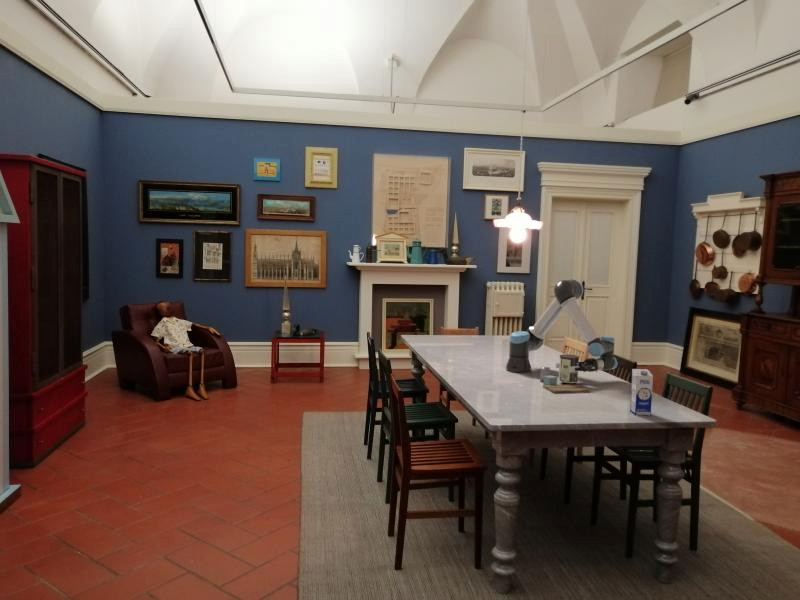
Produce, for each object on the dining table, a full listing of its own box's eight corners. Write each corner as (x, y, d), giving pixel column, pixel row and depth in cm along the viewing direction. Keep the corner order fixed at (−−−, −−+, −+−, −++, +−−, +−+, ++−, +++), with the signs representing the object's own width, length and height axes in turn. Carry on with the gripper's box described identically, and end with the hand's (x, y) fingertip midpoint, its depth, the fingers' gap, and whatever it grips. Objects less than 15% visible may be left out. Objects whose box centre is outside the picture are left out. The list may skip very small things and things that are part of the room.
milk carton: (645, 411, 264) (647, 368, 262) (651, 416, 257) (653, 372, 255) (629, 411, 264) (631, 368, 262) (635, 415, 257) (637, 371, 255)
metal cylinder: (538, 380, 324) (539, 366, 323) (546, 380, 325) (547, 366, 324) (542, 382, 319) (543, 368, 318) (550, 382, 320) (551, 368, 319)
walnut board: (542, 387, 308) (543, 385, 308) (577, 386, 312) (577, 384, 312) (553, 393, 295) (553, 391, 295) (589, 392, 299) (589, 390, 299)
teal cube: (543, 385, 314) (543, 376, 314) (550, 384, 316) (551, 375, 316) (549, 387, 310) (549, 377, 309) (556, 386, 312) (557, 377, 311)
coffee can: (576, 379, 322) (578, 354, 321) (578, 383, 312) (580, 358, 311) (557, 378, 324) (559, 353, 323) (559, 382, 314) (560, 357, 313)
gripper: (608, 375, 315) (576, 378, 306) (578, 367, 336) (548, 369, 326) (608, 361, 315) (577, 364, 305) (579, 354, 335) (549, 356, 325)
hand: (562, 367), depth 316 cm, fingers closed on coffee can, 10 cm apart
